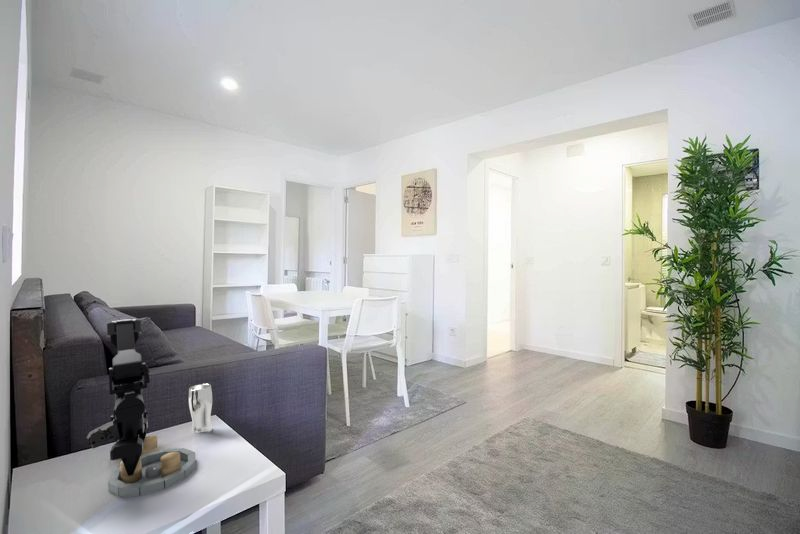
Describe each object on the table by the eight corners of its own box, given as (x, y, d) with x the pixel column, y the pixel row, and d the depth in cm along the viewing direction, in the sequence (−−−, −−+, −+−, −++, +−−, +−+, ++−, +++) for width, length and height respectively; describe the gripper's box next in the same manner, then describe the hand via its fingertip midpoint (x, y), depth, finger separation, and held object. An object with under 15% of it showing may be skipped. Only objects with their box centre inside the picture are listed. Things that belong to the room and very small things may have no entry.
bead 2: (137, 457, 112) (136, 440, 112) (152, 450, 115) (152, 434, 115) (144, 461, 109) (144, 443, 109) (160, 454, 113) (160, 437, 113)
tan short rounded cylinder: (157, 477, 99) (157, 458, 99) (175, 468, 103) (174, 450, 103) (167, 481, 97) (166, 462, 97) (184, 473, 101) (183, 454, 100)
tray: (95, 486, 97) (94, 475, 97) (171, 452, 114) (171, 442, 114) (133, 509, 88) (133, 496, 88) (210, 468, 104) (210, 458, 104)
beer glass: (191, 429, 129) (189, 385, 129) (214, 425, 132) (212, 382, 132) (188, 438, 123) (187, 391, 123) (212, 433, 126) (211, 388, 126)
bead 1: (143, 472, 101) (141, 453, 101) (141, 480, 97) (140, 461, 97) (122, 477, 99) (121, 459, 99) (120, 486, 95) (118, 467, 95)
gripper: (96, 404, 102) (99, 462, 102) (80, 431, 86) (83, 499, 86) (146, 396, 107) (149, 451, 108) (140, 419, 91) (143, 484, 92)
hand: (132, 469), depth 98 cm, fingers open, 5 cm apart
